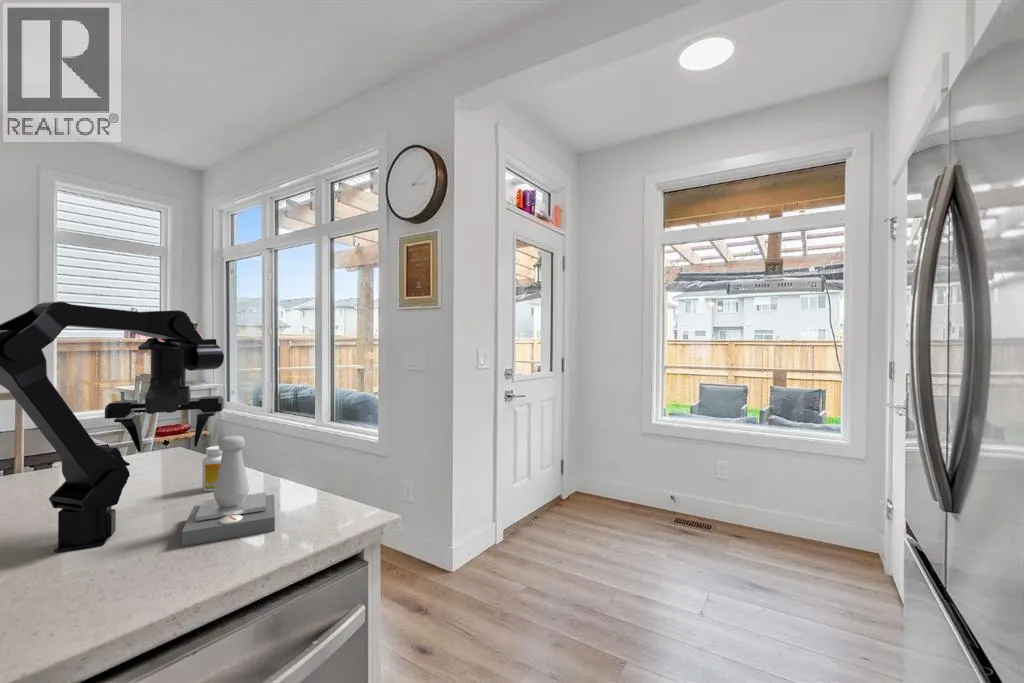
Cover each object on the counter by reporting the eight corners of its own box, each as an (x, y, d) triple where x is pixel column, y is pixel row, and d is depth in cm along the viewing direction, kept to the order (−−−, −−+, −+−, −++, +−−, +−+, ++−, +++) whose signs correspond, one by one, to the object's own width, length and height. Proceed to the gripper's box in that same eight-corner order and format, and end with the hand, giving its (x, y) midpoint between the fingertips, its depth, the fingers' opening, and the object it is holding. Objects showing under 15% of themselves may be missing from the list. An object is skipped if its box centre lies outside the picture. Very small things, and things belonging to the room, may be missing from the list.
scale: (181, 546, 77) (181, 529, 77) (193, 518, 90) (193, 503, 90) (274, 530, 84) (274, 514, 84) (274, 506, 96) (274, 492, 96)
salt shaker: (231, 510, 84) (231, 440, 84) (205, 508, 86) (205, 439, 86) (255, 500, 90) (255, 434, 90) (231, 497, 91) (231, 433, 91)
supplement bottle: (234, 487, 109) (234, 446, 109) (209, 493, 104) (209, 451, 104) (222, 483, 112) (222, 443, 112) (198, 489, 107) (198, 448, 107)
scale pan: (195, 521, 82) (195, 516, 82) (202, 505, 89) (202, 501, 89) (265, 510, 87) (265, 506, 87) (266, 496, 95) (266, 492, 95)
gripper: (94, 376, 81) (94, 464, 81) (219, 373, 90) (219, 452, 90) (113, 372, 91) (113, 451, 91) (223, 369, 100) (224, 441, 100)
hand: (168, 448), depth 93 cm, fingers open, 9 cm apart
